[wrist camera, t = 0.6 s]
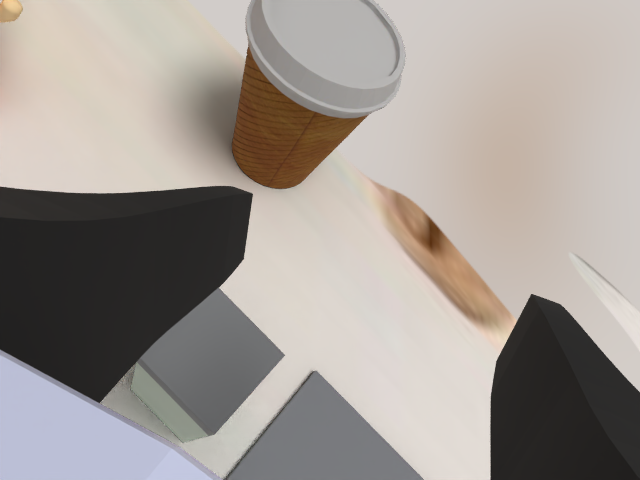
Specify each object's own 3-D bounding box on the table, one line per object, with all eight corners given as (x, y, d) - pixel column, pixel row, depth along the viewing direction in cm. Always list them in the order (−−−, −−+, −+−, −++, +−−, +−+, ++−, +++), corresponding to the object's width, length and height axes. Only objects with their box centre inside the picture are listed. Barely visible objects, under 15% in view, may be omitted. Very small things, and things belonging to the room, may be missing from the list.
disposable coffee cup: (256, 84, 36) (310, -58, 26) (348, 156, 37) (434, 44, 27) (181, 150, 31) (213, 3, 21) (290, 232, 31) (371, 128, 22)
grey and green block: (182, 442, 23) (214, 434, 16) (130, 388, 24) (137, 355, 16) (235, 385, 26) (284, 355, 18) (187, 336, 26) (217, 286, 18)
